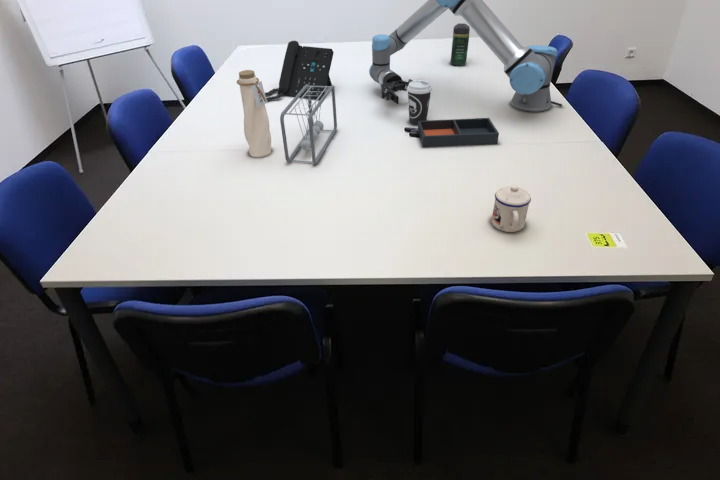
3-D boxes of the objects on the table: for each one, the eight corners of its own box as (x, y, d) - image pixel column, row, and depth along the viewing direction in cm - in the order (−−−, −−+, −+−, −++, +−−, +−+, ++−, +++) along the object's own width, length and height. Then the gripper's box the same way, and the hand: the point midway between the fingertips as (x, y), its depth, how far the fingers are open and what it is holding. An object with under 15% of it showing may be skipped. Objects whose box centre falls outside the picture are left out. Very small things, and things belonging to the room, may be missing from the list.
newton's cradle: (311, 128, 182) (306, 82, 171) (337, 129, 180) (334, 83, 170) (285, 165, 159) (278, 114, 148) (315, 167, 157) (310, 116, 146)
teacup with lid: (488, 213, 132) (494, 177, 125) (521, 214, 132) (529, 177, 125) (494, 239, 123) (501, 201, 116) (530, 240, 122) (539, 202, 115)
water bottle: (280, 148, 169) (269, 69, 152) (269, 159, 162) (255, 78, 145) (255, 145, 172) (241, 66, 155) (243, 156, 165) (227, 75, 148)
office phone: (248, 102, 206) (240, 54, 194) (281, 81, 227) (275, 36, 214) (308, 110, 197) (303, 60, 185) (336, 87, 217) (333, 41, 205)
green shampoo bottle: (466, 66, 235) (470, 26, 224) (450, 66, 236) (453, 26, 225) (466, 60, 243) (470, 22, 232) (450, 60, 244) (453, 22, 233)
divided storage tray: (487, 128, 177) (489, 117, 175) (497, 144, 167) (499, 133, 164) (417, 131, 177) (418, 120, 175) (422, 147, 166) (423, 136, 164)
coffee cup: (429, 127, 179) (431, 88, 170) (404, 126, 181) (405, 87, 172) (431, 117, 186) (433, 79, 177) (407, 116, 188) (408, 79, 179)
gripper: (416, 85, 203) (441, 101, 187) (363, 94, 196) (384, 112, 180) (417, 67, 199) (442, 82, 183) (362, 76, 192) (384, 93, 176)
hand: (413, 97), depth 182 cm, fingers open, 13 cm apart
